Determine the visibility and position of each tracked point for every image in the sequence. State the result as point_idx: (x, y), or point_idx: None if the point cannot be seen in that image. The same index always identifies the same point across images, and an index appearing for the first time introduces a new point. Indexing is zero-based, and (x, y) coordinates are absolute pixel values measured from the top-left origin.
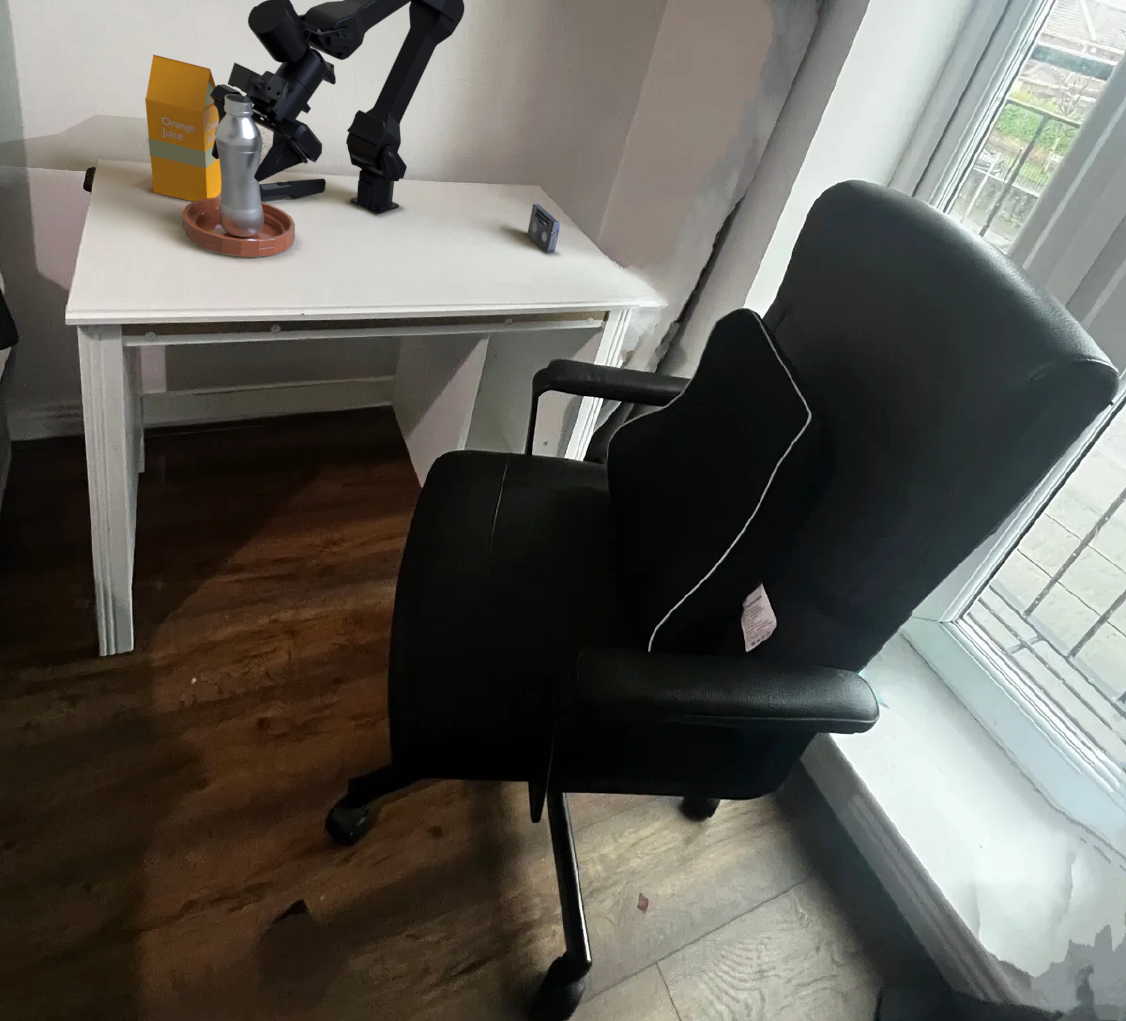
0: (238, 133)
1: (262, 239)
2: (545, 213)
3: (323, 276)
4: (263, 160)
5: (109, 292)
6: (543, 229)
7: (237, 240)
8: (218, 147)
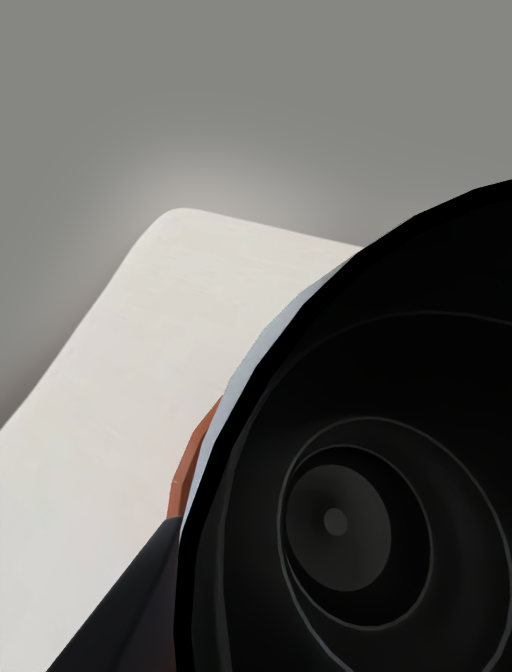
0: (252, 361)
1: (174, 501)
2: None
3: (25, 632)
4: (108, 660)
5: (186, 231)
6: None
7: (198, 425)
8: (408, 333)
